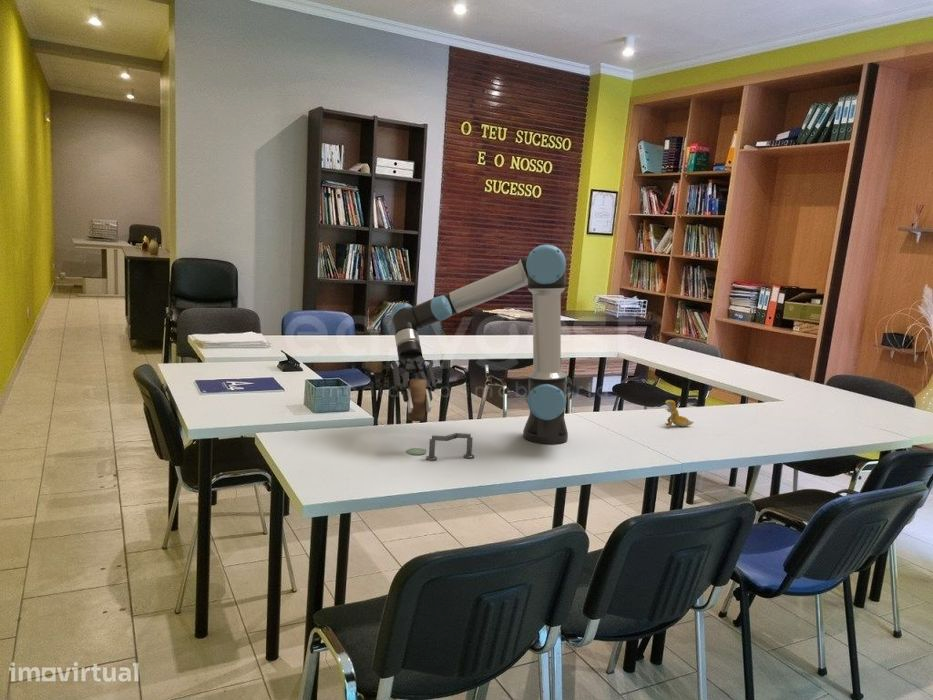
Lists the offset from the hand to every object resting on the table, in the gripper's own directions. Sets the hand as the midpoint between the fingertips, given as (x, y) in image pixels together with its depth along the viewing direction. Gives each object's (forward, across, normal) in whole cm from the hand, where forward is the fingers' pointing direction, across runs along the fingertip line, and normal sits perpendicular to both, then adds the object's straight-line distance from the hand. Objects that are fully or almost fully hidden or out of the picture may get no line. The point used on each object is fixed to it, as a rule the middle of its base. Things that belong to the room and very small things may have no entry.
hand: (420, 409), depth 198 cm
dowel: (0, 0, -5) cm, 5 cm away
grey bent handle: (+13, -9, -7) cm, 17 cm away
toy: (-5, -108, -24) cm, 111 cm away
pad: (+8, 0, -12) cm, 14 cm away
